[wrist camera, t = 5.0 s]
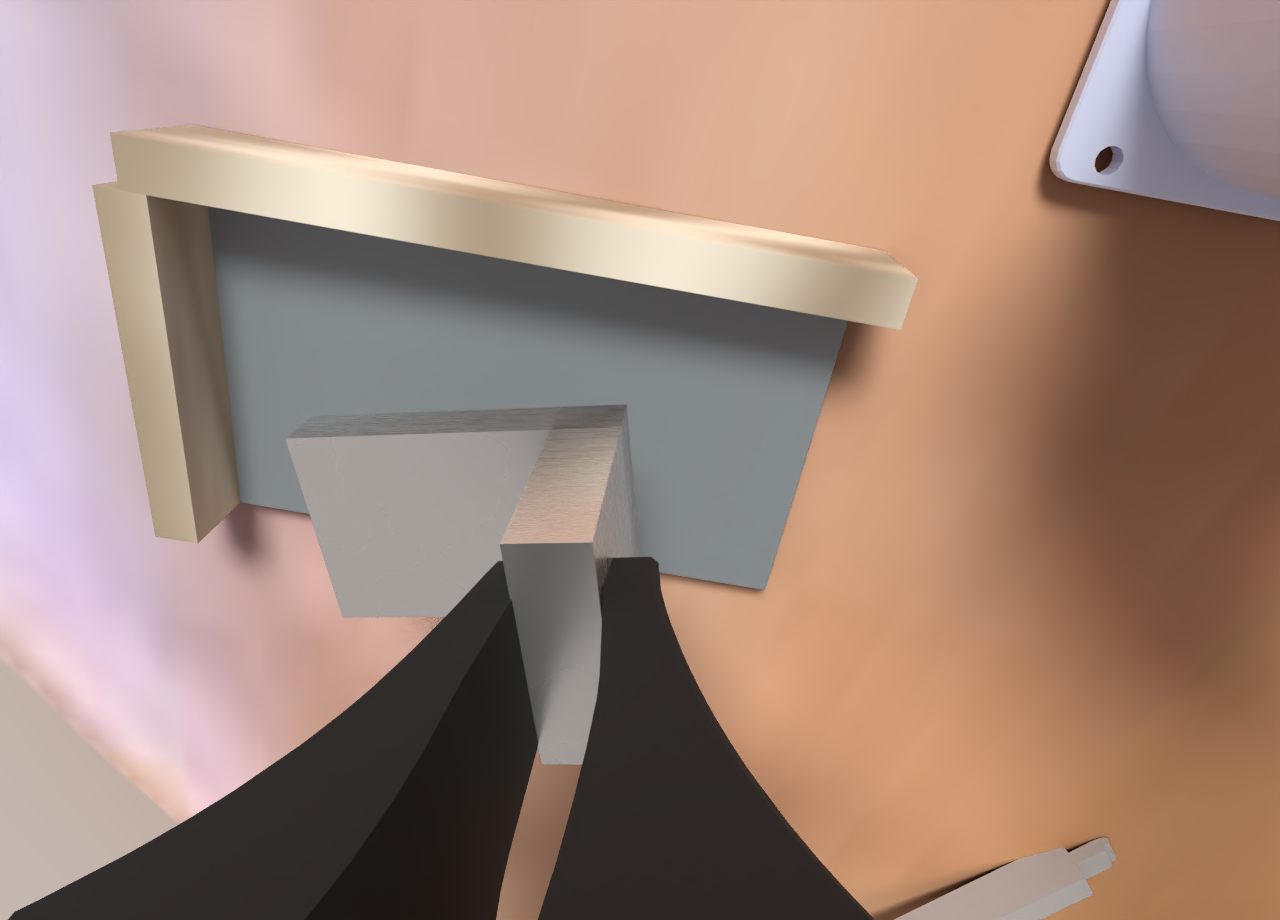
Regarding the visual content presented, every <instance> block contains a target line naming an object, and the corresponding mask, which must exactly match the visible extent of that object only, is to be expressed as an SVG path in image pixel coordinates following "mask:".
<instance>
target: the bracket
mask: <svg viewBox="0 0 1280 920" xmlns="http://www.w3.org/2000/svg"><path fill="white" fill-rule="evenodd" d="M285 439H286V442H287V446H288V449H289V452H290V455H291V458H292V461H293V464H294V467H295V470H296V474H297V477H298V480H299V483H300V486H301V489H302V492H303V495H304V498H305V501H306V505H307V508H308V511H309V514H310V517H311V520H312V523H313V526H314V529H315V533H316V536H317V539H318V542H319V545H320V548H321V551H322V554H323V557H324V560H325V564H326V567H327V570H328V573H329V576H330V579H331V582H332V585H333V588H334V591H335V595H336V598H337V601H338V604H339V607H340V610H341V613H342V616H343V618H353V617H446V616H447V614H448V613H449V612H450V611H451V610H452V609H453V608H454V607H455V606H456V605H457V604H458V603H459V602H460V601H461V600H462V598H463V597H464V596H465V595H466V594H467V593H468V592H469V591H470V590H471V589H472V588H473V587H474V586H475V584H476V583H477V582H478V581H479V580H480V579H481V578H482V577H483V576H484V575H485V574H486V573H487V572H488V571H489V570H490V569H491V568H492V567H493V566H494V565H495V564H496V563H497V562H498V561H503V564H504V570H505V575H506V580H507V586H508V591H509V596H510V599H512V604H513V609H514V614H515V620H516V625H517V631H518V636H519V641H520V647H521V652H522V658H523V663H524V669H525V674H526V679H527V685H528V690H529V696H530V701H531V706H532V712H533V717H534V723H535V728H536V733H537V739H538V749H539V755H540V760H541V764H566V765H582V763H583V759H584V755H585V751H586V747H587V742H588V737H589V733H590V728H591V723H592V718H593V714H594V709H595V704H596V699H597V692H598V684H599V675H600V653H601V630H602V608H603V588H604V581H605V578H606V575H607V572H608V569H609V567H610V565H611V562H612V560H613V558H621V557H640V553H639V541H638V530H637V518H636V507H635V495H634V484H633V472H632V461H631V449H630V438H629V426H628V415H627V404H625V405H598V406H570V407H543V408H515V409H488V410H461V411H433V412H406V413H379V414H351V415H324V416H312V417H310V418H309V419H308V420H307V421H306V422H304V423H303V424H302V425H301V426H300V427H298V428H297V429H296V430H295V431H294V432H292V433H291V434H290V435H289V436H288V437H286V438H285Z"/></svg>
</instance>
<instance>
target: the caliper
mask: <svg viewBox="0 0 1280 920" xmlns="http://www.w3.org/2000/svg"><path fill="white" fill-rule="evenodd" d="M1114 860H1116V857H1115V854H1114V852H1113V849H1112V847H1111V845H1110V842H1109V840H1108V838H1104V837H1101V838H1098V839H1096V840H1093V841H1090V842H1088V843H1087V844H1085V845H1083V846H1081V847H1079V848H1077V849H1075V850H1073V851H1071V852H1067V850H1066V849H1065V848H1064V847H1061V848H1057V849H1053V850H1050V851H1046V852H1042V853H1039V854H1035V855H1031V856H1027V857H1024V858H1020V859H1017V860H1015V861H1013V862H1011V863H1009V864H1007V865H1005V866H1003V867H1001V868H999V869H997V870H995V871H993V872H991V873H988V874H986V875H984V876H982V877H980V878H978V879H976V880H974V881H972V882H970V883H968V884H966V885H964V886H962V887H960V888H958V889H956V890H954V891H952V892H950V893H947V894H945V895H943V896H941V897H939V898H937V899H935V900H933V901H931V902H929V903H927V904H925V905H923V906H921V907H919V908H917V909H915V910H913V911H911V912H908V913H906V914H904V915H902V916H900V917H898V918H896V919H894V920H1041V919H1043V918H1045V917H1047V916H1049V915H1051V914H1054V913H1056V912H1058V911H1060V910H1062V909H1064V908H1066V907H1068V906H1070V905H1073V904H1075V903H1077V902H1079V901H1081V900H1083V899H1085V898H1087V897H1090V896H1092V895H1093V893H1092V891H1091V889H1090V887H1089V885H1088V883H1087V881H1086V879H1088V878H1091V877H1093V876H1095V875H1097V874H1099V873H1101V872H1103V871H1105V870H1107V869H1109V868H1111V867H1112V862H1113V861H1114Z"/></svg>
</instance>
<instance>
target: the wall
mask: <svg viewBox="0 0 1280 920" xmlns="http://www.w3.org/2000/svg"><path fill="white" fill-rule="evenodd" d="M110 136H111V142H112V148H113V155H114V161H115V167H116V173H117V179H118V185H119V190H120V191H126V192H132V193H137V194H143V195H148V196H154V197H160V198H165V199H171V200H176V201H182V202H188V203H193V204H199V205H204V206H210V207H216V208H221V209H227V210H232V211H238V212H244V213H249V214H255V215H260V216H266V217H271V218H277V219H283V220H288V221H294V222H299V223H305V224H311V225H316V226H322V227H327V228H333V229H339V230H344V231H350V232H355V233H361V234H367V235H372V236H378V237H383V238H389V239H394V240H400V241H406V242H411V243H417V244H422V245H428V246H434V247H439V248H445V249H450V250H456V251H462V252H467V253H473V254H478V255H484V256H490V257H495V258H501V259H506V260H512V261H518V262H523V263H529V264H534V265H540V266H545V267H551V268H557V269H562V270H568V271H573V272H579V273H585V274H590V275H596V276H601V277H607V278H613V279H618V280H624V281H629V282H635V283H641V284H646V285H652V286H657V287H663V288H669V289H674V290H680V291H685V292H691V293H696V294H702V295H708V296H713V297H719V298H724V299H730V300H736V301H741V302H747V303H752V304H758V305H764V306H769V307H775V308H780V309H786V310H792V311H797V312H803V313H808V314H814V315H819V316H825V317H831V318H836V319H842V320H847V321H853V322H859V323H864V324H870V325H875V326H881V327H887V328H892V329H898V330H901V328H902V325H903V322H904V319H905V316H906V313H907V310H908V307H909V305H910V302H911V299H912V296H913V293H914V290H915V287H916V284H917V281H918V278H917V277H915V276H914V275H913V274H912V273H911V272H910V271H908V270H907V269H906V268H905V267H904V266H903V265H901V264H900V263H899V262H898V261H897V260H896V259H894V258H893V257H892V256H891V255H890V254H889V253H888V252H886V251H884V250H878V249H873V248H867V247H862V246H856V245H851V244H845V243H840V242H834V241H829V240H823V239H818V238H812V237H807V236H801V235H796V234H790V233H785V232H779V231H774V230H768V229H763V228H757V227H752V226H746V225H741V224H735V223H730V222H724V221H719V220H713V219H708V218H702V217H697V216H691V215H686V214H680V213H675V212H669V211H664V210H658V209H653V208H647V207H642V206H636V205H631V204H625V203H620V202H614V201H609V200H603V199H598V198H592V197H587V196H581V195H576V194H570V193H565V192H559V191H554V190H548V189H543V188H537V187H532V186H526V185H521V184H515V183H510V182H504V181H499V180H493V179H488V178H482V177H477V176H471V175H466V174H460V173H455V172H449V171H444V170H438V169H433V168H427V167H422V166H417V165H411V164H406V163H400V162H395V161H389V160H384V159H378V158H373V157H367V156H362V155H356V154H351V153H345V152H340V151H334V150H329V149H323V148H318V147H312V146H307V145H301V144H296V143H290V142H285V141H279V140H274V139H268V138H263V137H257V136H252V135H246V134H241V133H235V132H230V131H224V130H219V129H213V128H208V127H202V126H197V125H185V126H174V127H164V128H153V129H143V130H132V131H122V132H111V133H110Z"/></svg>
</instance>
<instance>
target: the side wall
mask: <svg viewBox="0 0 1280 920" xmlns="http://www.w3.org/2000/svg"><path fill="white" fill-rule="evenodd" d="M92 186H93V191H94V197H95V202H96V208H97V214H98V219H99V225H100V230H101V236H102V241H103V247H104V252H105V258H106V264H107V269H108V275H109V280H110V286H111V291H112V297H113V302H114V308H115V314H116V319H117V325H118V330H119V336H120V341H121V347H122V353H123V358H124V364H125V369H126V375H127V380H128V386H129V391H130V397H131V403H132V408H133V414H134V419H135V425H136V430H137V436H138V441H139V447H140V453H141V458H142V464H143V469H144V475H145V480H146V486H147V491H148V497H149V503H150V508H151V514H152V519H153V525H154V530H155V536H156V537H161V538H168V539H174V540H180V541H186V542H192V543H199V542H200V541H201V540H202V539H203V538H204V537H205V536H206V535H207V534H208V533H209V532H210V531H211V530H212V529H213V528H214V527H215V526H216V525H218V524H219V523H220V522H221V521H222V520H223V519H224V518H225V517H226V516H227V515H228V514H229V513H230V512H231V511H232V510H233V509H234V508H235V507H236V506H237V505H238V504H239V503H241V501H240V492H239V483H238V474H237V465H236V456H235V447H234V438H233V429H232V420H231V411H230V402H229V393H228V384H227V375H226V366H225V357H224V348H223V339H222V329H221V320H220V311H219V302H218V293H217V284H216V275H215V266H214V257H213V248H212V239H211V230H210V221H209V212H208V206H204V205H199V204H193V203H188V202H182V201H176V200H171V199H165V198H160V197H154V196H148V195H143V194H137V193H132V192H126V191H120V190H119V185H118V181H114V182H109V183H103V184H98V185H92Z"/></svg>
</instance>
